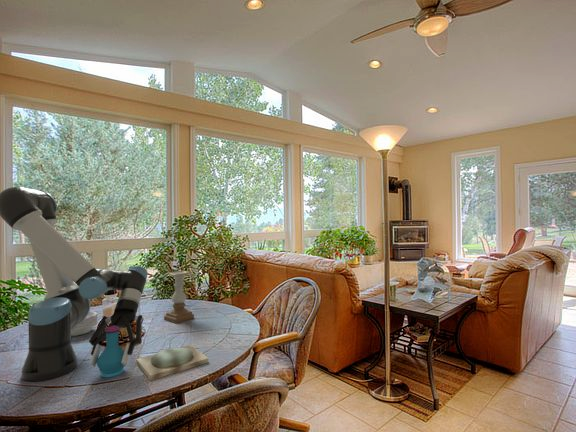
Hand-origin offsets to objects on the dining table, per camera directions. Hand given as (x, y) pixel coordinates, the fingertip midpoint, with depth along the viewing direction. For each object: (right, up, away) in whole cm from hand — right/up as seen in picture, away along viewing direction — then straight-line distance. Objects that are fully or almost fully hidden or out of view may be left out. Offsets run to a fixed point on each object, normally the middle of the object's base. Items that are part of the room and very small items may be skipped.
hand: (108, 365), depth 105 cm
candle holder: (+3, -5, +61) cm, 61 cm away
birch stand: (+17, -4, +10) cm, 20 cm away
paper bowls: (-37, -5, +41) cm, 56 cm away
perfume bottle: (0, -4, +3) cm, 5 cm away
